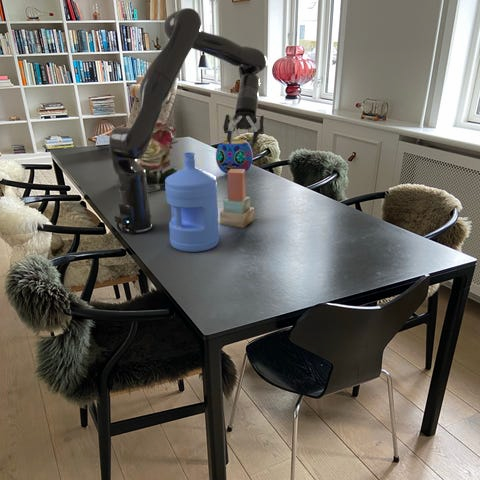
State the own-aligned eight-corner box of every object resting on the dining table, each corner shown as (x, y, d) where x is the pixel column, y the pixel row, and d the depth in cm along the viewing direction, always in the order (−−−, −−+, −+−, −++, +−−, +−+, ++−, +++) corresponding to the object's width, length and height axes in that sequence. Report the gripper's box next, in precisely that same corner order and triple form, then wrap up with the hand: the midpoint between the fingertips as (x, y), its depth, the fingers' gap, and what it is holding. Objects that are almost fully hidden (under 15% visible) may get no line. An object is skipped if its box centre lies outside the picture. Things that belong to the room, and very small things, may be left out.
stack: (243, 227, 168) (242, 203, 164) (220, 224, 172) (219, 200, 167) (253, 219, 175) (254, 196, 171) (231, 216, 178) (231, 193, 174)
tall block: (242, 201, 166) (242, 173, 161) (228, 200, 167) (227, 172, 162) (245, 196, 171) (245, 169, 166) (231, 196, 172) (230, 168, 167)
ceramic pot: (211, 177, 226) (210, 144, 218) (221, 168, 241) (220, 137, 233) (248, 179, 222) (248, 145, 215) (256, 170, 237) (256, 138, 229)
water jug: (194, 231, 166) (188, 146, 151) (229, 241, 157) (226, 152, 143) (160, 245, 155) (150, 154, 141) (195, 257, 147) (189, 162, 132)
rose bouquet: (115, 181, 223) (105, 110, 208) (177, 174, 232) (172, 106, 216) (124, 196, 202) (114, 119, 187) (192, 188, 211) (187, 114, 196)
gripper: (226, 95, 172) (220, 135, 168) (266, 96, 169) (260, 137, 166) (229, 109, 179) (223, 148, 175) (267, 110, 177) (262, 149, 173)
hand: (241, 143), depth 170 cm, fingers open, 8 cm apart
